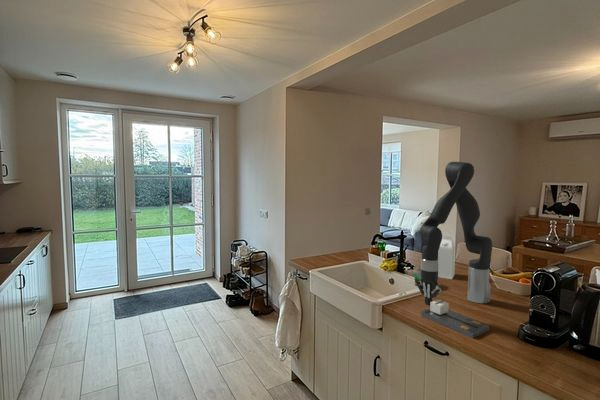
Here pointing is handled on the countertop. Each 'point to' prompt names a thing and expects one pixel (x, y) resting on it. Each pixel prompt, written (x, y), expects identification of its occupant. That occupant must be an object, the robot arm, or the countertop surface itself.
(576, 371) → the countertop surface
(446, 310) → the fader knob
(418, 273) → the food container
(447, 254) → the milk
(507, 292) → the countertop surface
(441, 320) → the fader console
